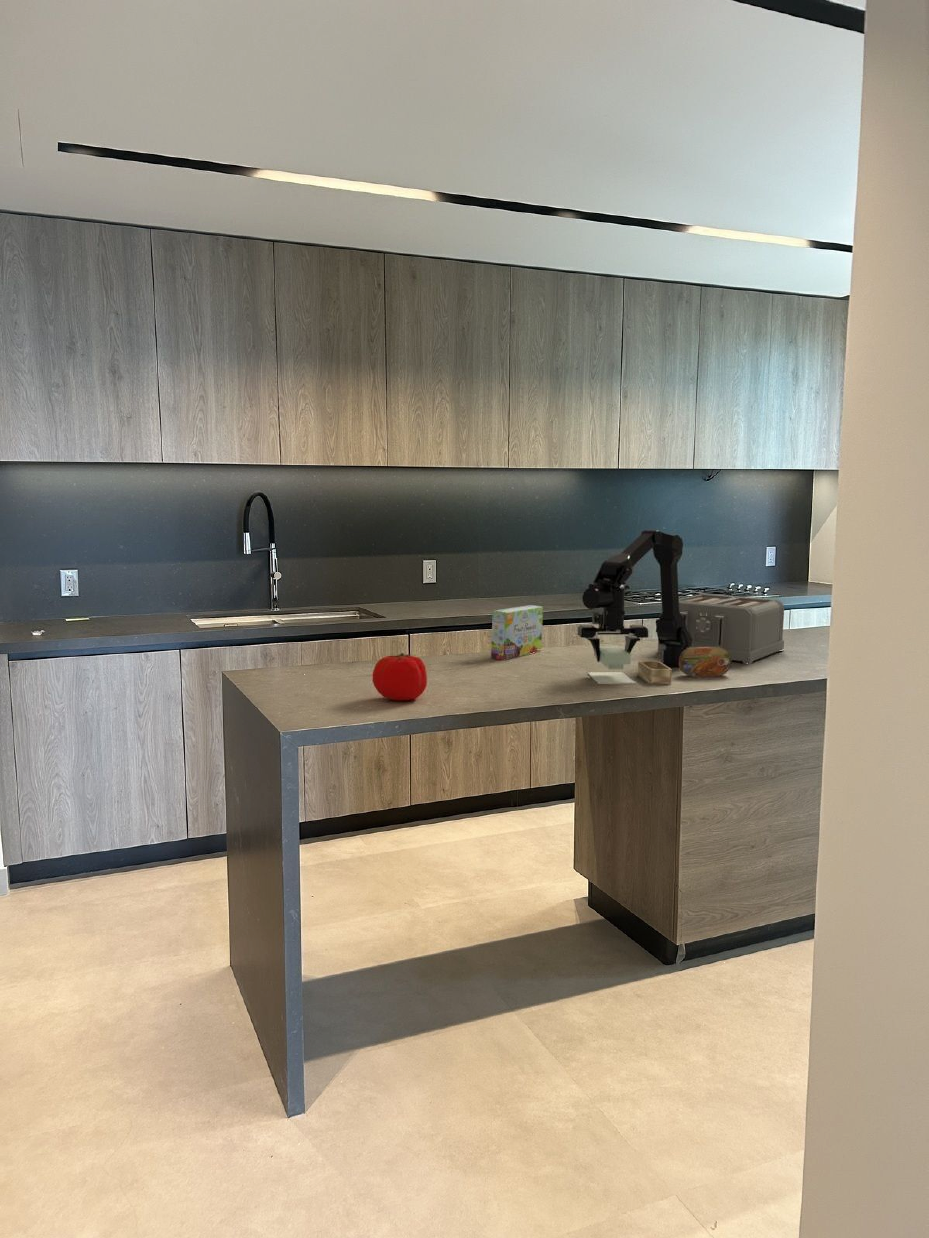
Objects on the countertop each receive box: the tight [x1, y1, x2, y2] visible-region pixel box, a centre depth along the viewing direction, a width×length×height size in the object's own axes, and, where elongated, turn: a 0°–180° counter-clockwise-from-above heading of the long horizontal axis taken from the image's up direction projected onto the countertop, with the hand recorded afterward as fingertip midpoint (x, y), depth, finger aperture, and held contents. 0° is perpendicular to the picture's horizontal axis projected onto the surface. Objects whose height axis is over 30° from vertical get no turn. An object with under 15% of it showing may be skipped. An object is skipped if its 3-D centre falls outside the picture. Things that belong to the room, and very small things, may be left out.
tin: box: [678, 647, 732, 678], centre depth 263 cm, size 15×3×8 cm, turn 99°
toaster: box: [657, 593, 785, 665], centre depth 301 cm, size 31×36×17 cm
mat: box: [587, 671, 636, 685], centre depth 257 cm, size 10×14×1 cm
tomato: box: [371, 652, 428, 702], centre depth 227 cm, size 12×13×12 cm
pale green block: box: [593, 645, 632, 670], centre depth 256 cm, size 7×12×4 cm, turn 5°
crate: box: [637, 660, 673, 685], centre depth 257 cm, size 6×12×4 cm, turn 5°
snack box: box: [490, 604, 544, 661], centre depth 291 cm, size 21×6×15 cm, turn 143°
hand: (611, 662), depth 256 cm, fingers closed on pale green block, 7 cm apart
